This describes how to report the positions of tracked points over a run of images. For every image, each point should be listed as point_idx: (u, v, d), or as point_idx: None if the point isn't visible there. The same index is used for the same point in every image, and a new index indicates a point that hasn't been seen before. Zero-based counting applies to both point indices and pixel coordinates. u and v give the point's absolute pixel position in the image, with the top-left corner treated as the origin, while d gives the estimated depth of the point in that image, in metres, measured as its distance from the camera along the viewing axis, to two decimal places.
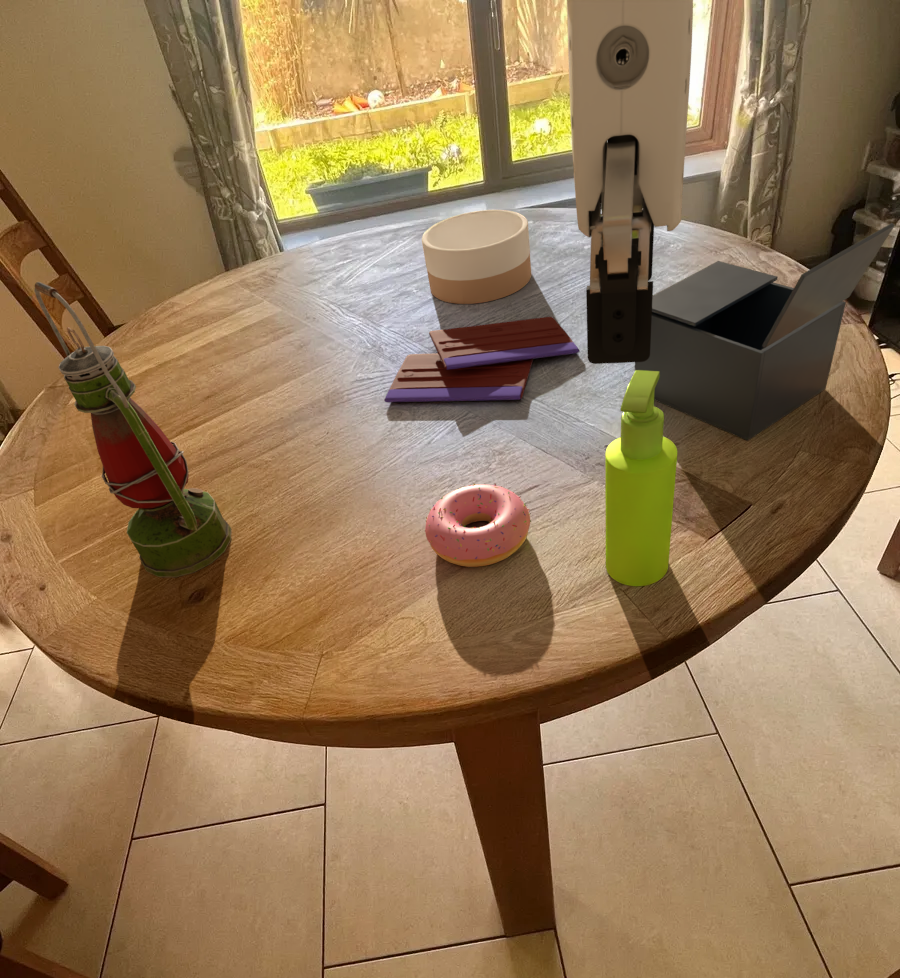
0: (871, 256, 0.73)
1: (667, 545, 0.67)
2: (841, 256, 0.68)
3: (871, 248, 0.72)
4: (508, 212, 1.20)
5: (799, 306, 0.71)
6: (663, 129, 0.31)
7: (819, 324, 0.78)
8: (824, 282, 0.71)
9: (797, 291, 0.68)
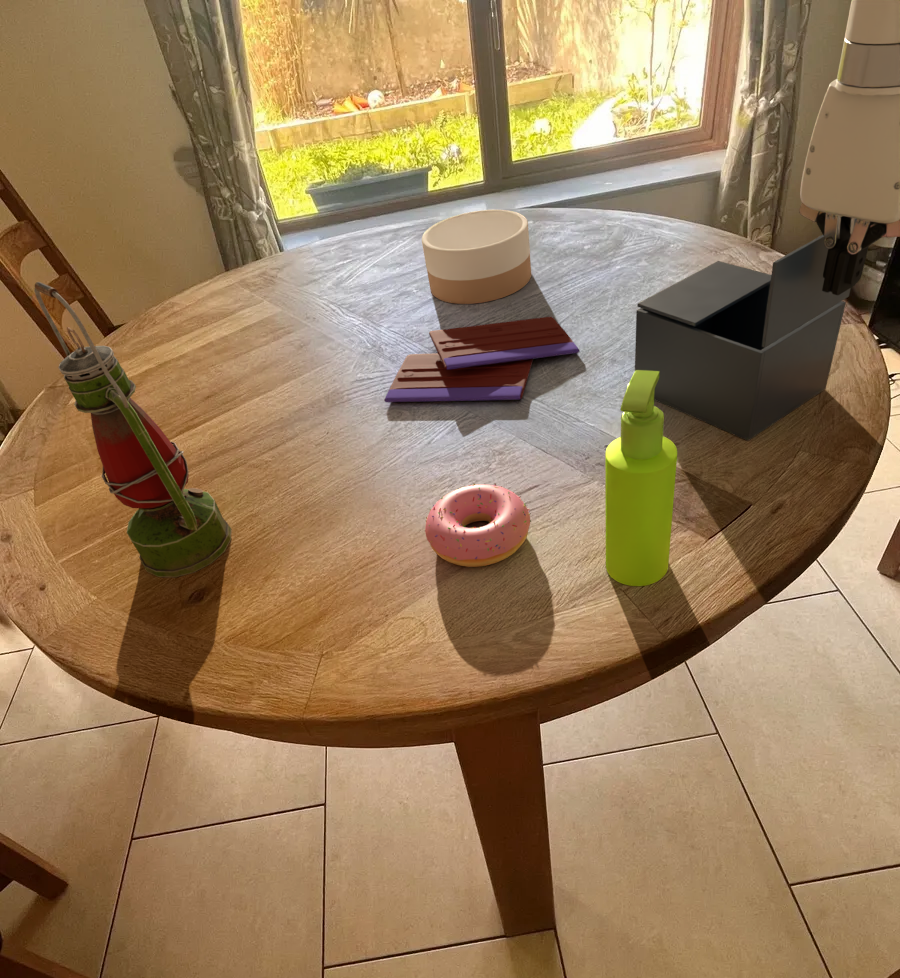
0: None
1: (667, 545, 0.67)
2: (813, 243, 0.70)
3: None
4: (508, 211, 1.20)
5: (786, 299, 0.72)
6: None
7: (819, 324, 0.78)
8: (806, 273, 0.72)
9: (775, 280, 0.69)
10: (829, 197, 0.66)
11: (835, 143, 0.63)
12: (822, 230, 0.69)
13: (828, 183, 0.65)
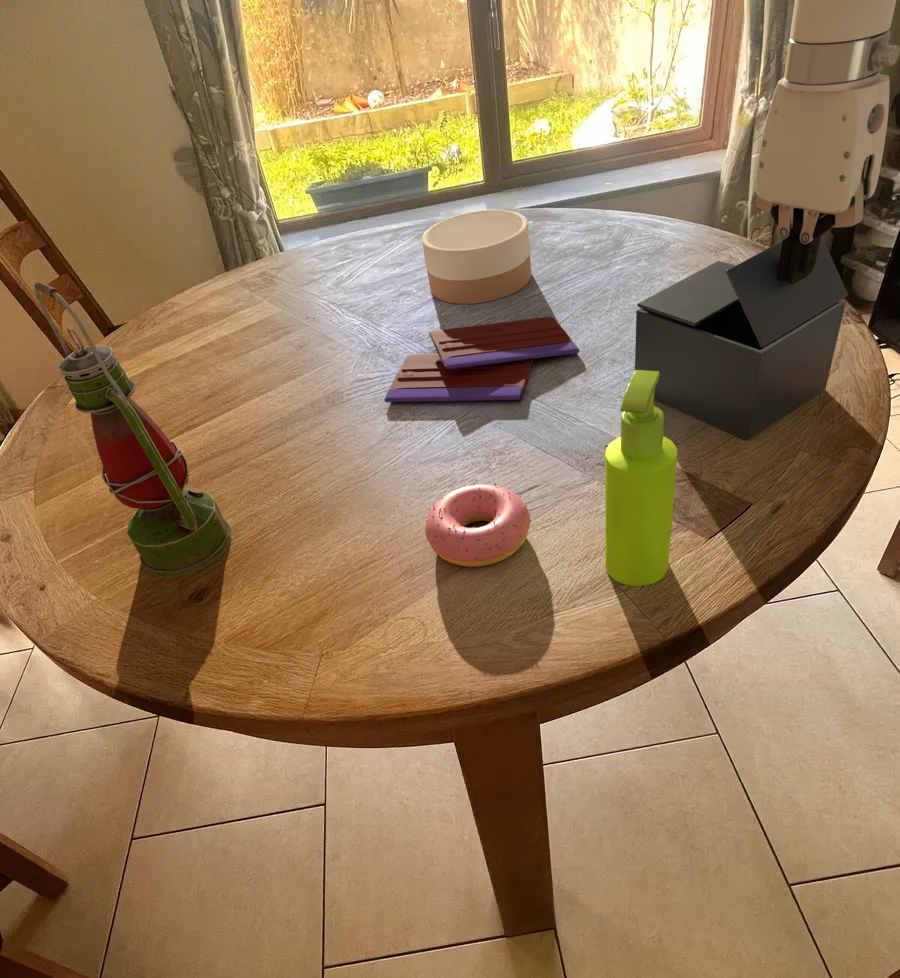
0: (822, 252, 0.77)
1: (667, 545, 0.67)
2: (764, 251, 0.74)
3: None
4: (508, 212, 1.20)
5: (762, 301, 0.74)
6: (881, 148, 0.64)
7: (819, 324, 0.78)
8: (773, 277, 0.75)
9: (736, 285, 0.73)
10: (781, 189, 0.69)
11: (784, 138, 0.66)
12: (777, 222, 0.72)
13: (779, 176, 0.68)
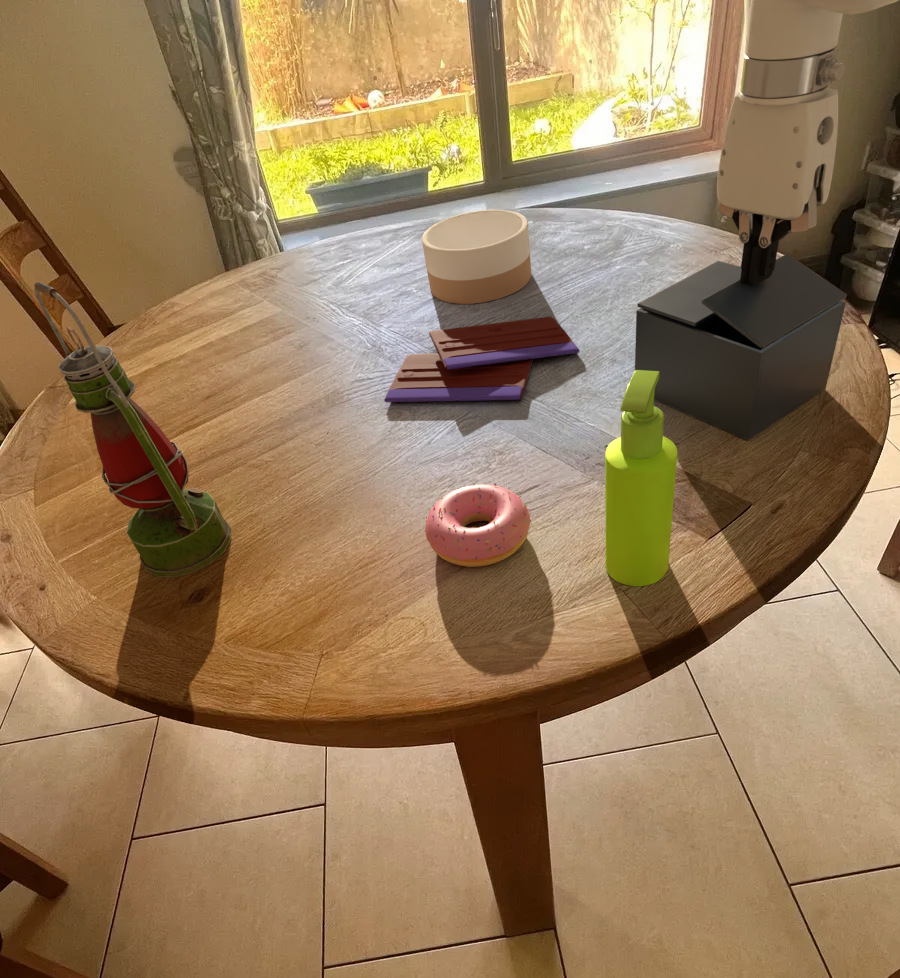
0: (803, 271, 0.80)
1: (667, 545, 0.67)
2: (738, 281, 0.79)
3: (785, 268, 0.80)
4: (508, 212, 1.20)
5: (749, 314, 0.76)
6: (832, 158, 0.68)
7: (819, 324, 0.78)
8: (754, 296, 0.78)
9: (715, 308, 0.76)
10: (740, 196, 0.73)
11: (742, 147, 0.70)
12: (738, 226, 0.76)
13: (738, 184, 0.72)
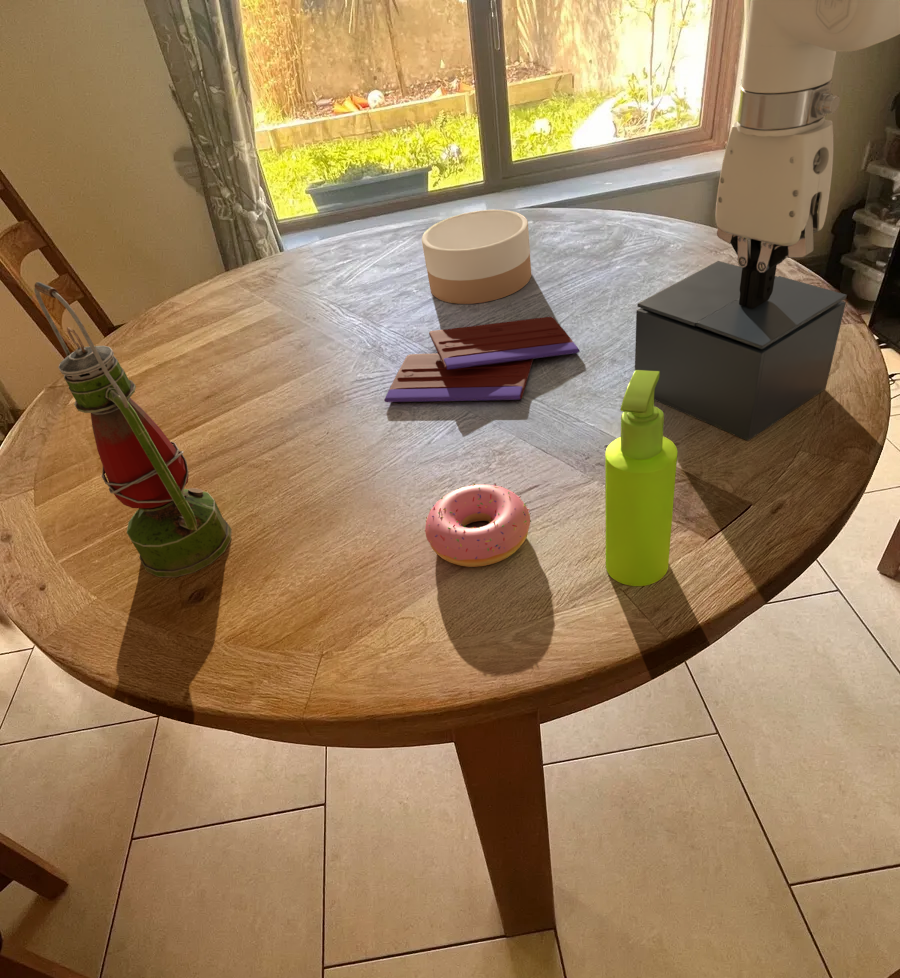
0: (797, 285, 0.81)
1: (667, 545, 0.67)
2: (731, 303, 0.81)
3: (779, 286, 0.82)
4: (508, 212, 1.20)
5: (745, 325, 0.77)
6: (828, 186, 0.69)
7: (819, 324, 0.78)
8: (748, 311, 0.79)
9: (709, 326, 0.78)
10: (738, 222, 0.74)
11: (739, 176, 0.71)
12: (736, 251, 0.78)
13: (736, 210, 0.74)
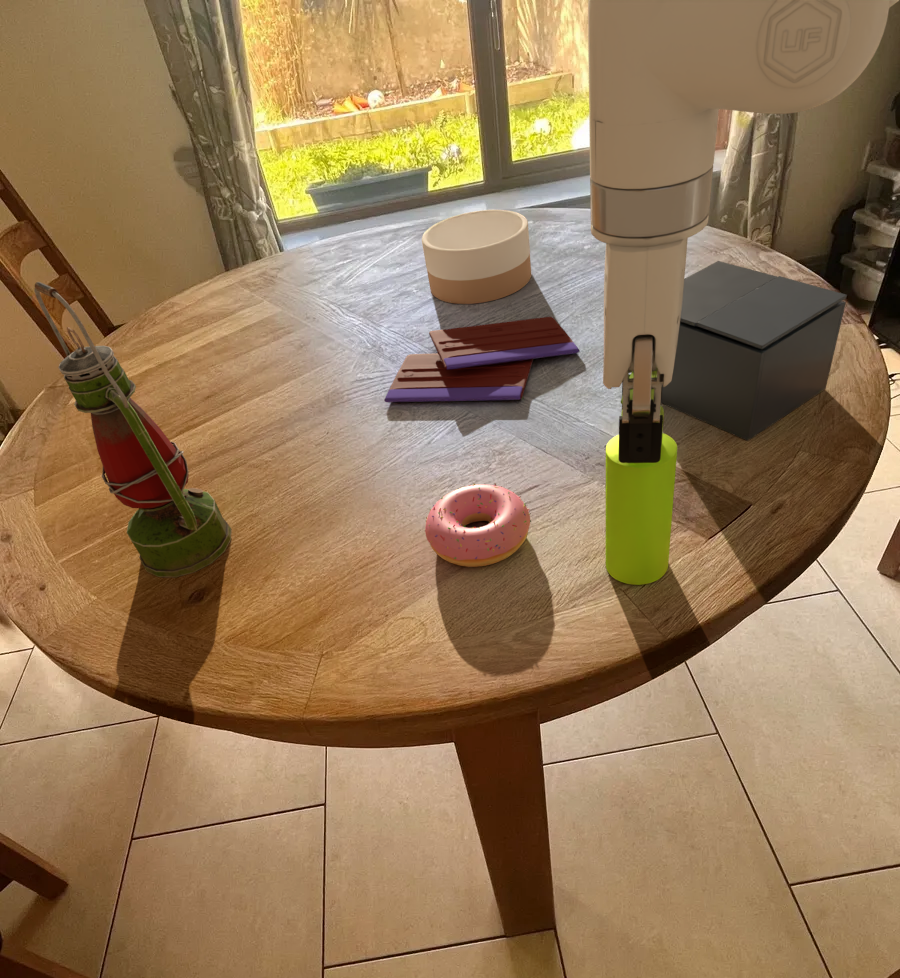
0: (797, 285, 0.81)
1: (667, 543, 0.67)
2: (731, 303, 0.81)
3: (779, 286, 0.82)
4: (508, 212, 1.20)
5: (745, 325, 0.77)
6: None
7: (819, 324, 0.78)
8: (748, 311, 0.79)
9: (709, 326, 0.78)
10: None
11: None
12: None
13: None
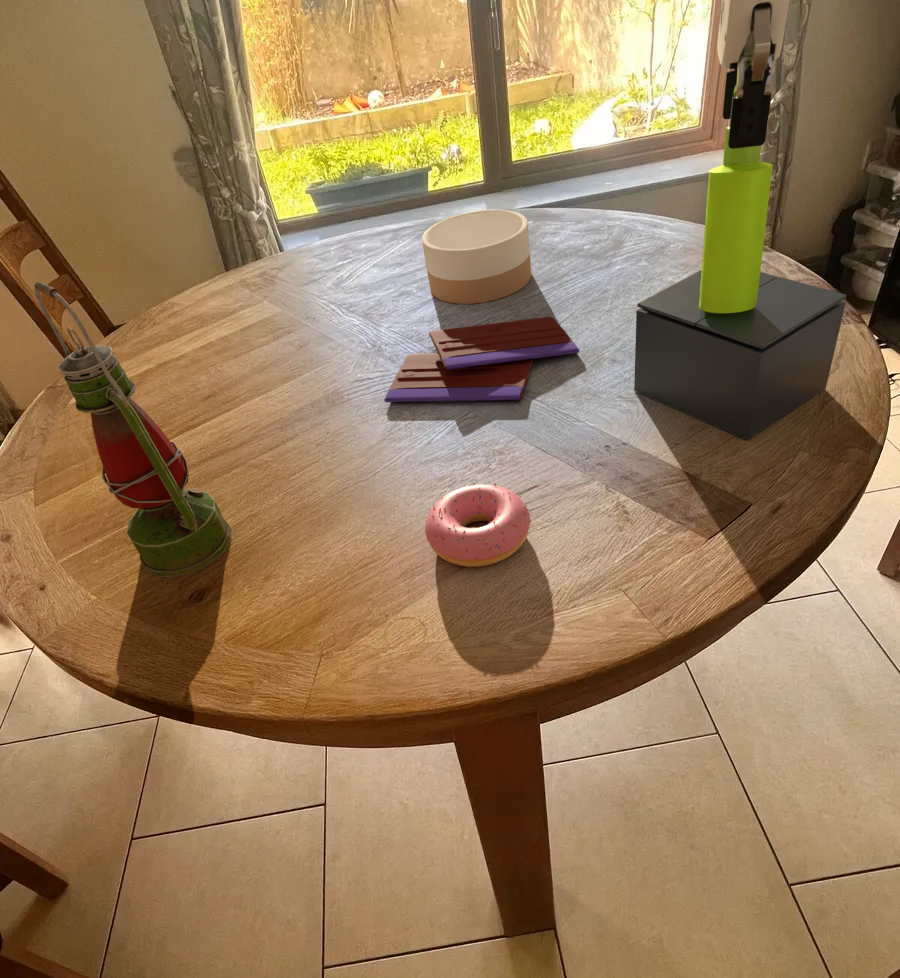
0: (797, 286, 0.81)
1: (759, 269, 0.76)
2: None
3: (778, 287, 0.82)
4: (508, 211, 1.20)
5: (745, 325, 0.77)
6: None
7: (819, 324, 0.78)
8: (748, 312, 0.79)
9: (709, 326, 0.78)
10: None
11: None
12: (765, 83, 0.63)
13: None
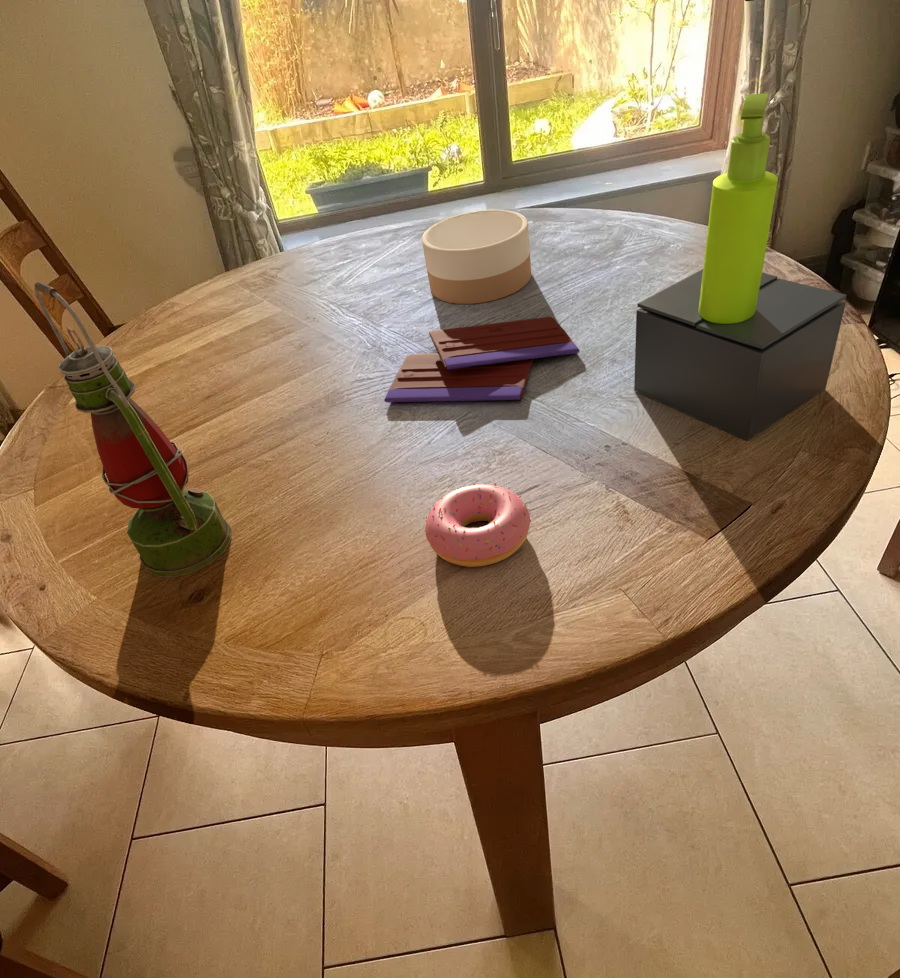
0: (797, 287, 0.82)
1: (759, 280, 0.76)
2: None
3: (778, 288, 0.82)
4: (508, 211, 1.20)
5: (745, 326, 0.77)
6: None
7: (819, 324, 0.78)
8: None
9: (709, 328, 0.78)
10: None
11: None
12: None
13: None
